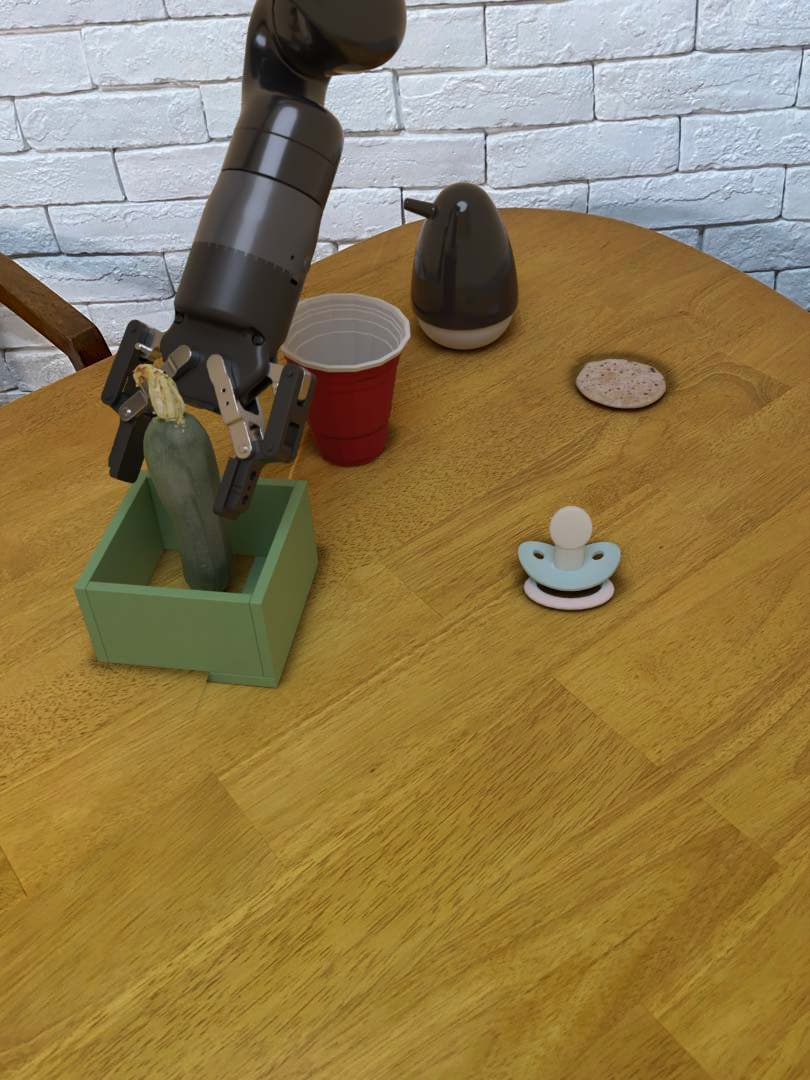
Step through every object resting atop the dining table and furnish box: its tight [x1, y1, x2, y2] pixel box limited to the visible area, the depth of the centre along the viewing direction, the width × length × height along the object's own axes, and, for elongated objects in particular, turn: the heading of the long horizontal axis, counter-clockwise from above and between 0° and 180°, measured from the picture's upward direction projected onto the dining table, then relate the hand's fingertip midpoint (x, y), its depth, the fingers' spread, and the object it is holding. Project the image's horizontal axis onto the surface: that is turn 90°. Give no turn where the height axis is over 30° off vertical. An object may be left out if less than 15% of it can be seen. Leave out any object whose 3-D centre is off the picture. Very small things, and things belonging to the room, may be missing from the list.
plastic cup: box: [279, 292, 411, 468], centre depth 92 cm, size 11×11×12 cm
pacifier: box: [517, 505, 622, 611], centre depth 80 cm, size 7×6×6 cm
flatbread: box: [575, 358, 667, 409], centre depth 100 cm, size 8×8×1 cm
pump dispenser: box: [402, 181, 520, 350], centre depth 104 cm, size 10×10×15 cm
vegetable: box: [132, 364, 234, 592], centre depth 75 cm, size 4×4×20 cm
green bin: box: [73, 469, 319, 689], centre depth 79 cm, size 13×13×8 cm
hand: (172, 498), depth 73 cm, fingers open, 8 cm apart
